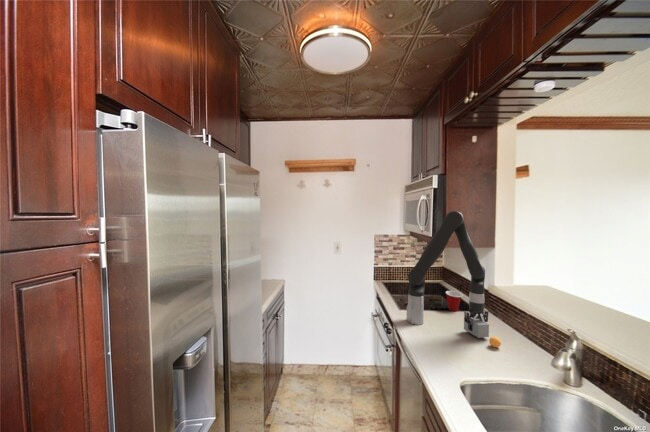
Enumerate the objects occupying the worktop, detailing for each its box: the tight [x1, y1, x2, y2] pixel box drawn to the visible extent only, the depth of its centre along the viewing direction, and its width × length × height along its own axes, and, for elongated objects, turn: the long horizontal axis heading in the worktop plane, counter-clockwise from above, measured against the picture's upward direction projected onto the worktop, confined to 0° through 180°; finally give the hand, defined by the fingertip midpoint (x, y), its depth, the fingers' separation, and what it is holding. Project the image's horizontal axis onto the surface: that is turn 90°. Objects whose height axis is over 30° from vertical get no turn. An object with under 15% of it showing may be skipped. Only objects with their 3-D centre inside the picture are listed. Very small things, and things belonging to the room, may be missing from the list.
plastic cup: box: [445, 290, 463, 312], centre depth 187 cm, size 11×11×12 cm
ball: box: [488, 336, 502, 348], centre depth 136 cm, size 5×5×5 cm
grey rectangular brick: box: [463, 317, 490, 339], centre depth 148 cm, size 7×11×7 cm, turn 12°
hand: (475, 329), depth 148 cm, fingers closed on grey rectangular brick, 6 cm apart
